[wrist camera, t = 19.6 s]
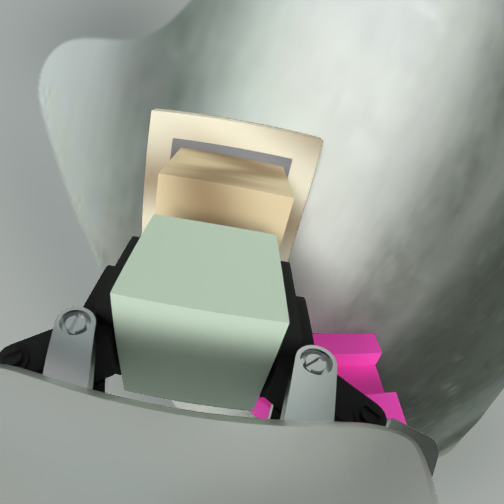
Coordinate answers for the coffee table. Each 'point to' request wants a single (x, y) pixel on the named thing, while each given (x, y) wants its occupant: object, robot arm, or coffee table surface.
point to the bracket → (352, 371)
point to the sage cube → (199, 313)
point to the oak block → (225, 191)
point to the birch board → (233, 144)
